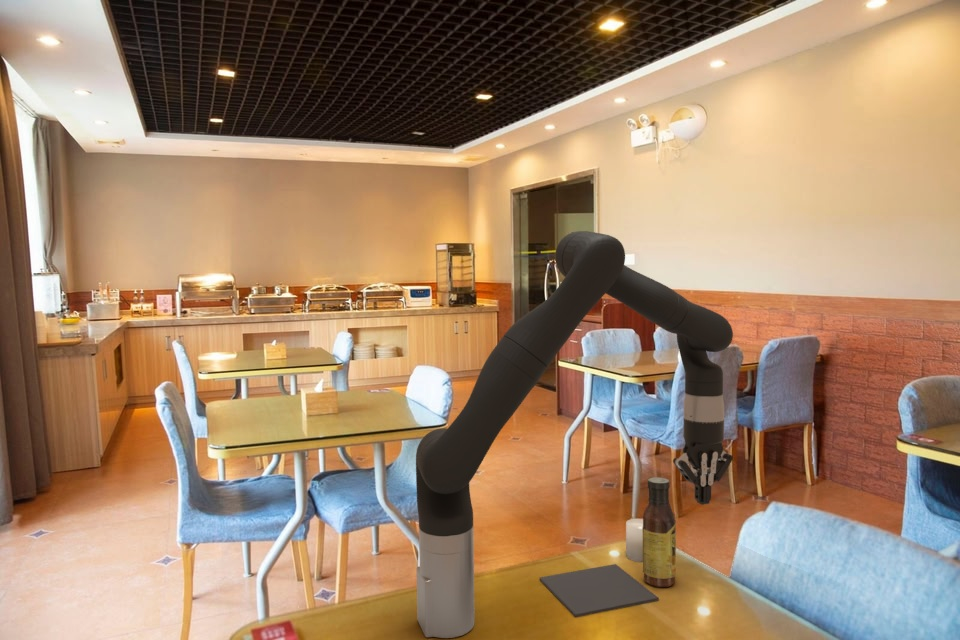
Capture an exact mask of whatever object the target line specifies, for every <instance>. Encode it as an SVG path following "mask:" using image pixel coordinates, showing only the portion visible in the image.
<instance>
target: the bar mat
mask: <svg viewBox="0 0 960 640" xmlns="http://www.w3.org/2000/svg"><path fill="white" fill-rule="evenodd" d="M539 581H540V582H541V583H542V584H543V586H545V587H546V588H547V589H548V590H549V591H550V593H552V595H553V596H554V597H555V598H557V600H558V601H559V602H560V603H561V604H562V605H563V606H564V608H565V609H567V610H568V612H570V614H571V615H572V616H574V618H578V617H579V618H580V617H583V616H584V617H585V616H588V615H593V614H594V615H595V614H599V613H603V612H608V611H615V610H618V609H624V608H627V607H632V606H633V607H634V606H638V605H642V604H643V605H644V604H647V603H648V604H649V603H653V602H657V601H659V600H660V599H659V596H657V595H656V594H655V593H653V592H652V591H651V590H649V589H648V588H647V587H646V586H644V585H643V584H642V583H641V582H640V581H638V580H637V579H636V578H634V577H633V576H632V575H630V574H629V573H628V572H627V571H625V570H624V569H623V568H621V567H620V566H619V565H618V564H617V563H613V564H608V565H603V566H597V567H592V568H585V569H581V570H580V569H578V570H575V571H574V570H573V571H569V572H562V573H558V574H557V573H556V574H552V575H551V574H550V575H545V576H540V577H539Z"/></svg>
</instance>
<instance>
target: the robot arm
mask: <svg viewBox="0 0 960 640" xmlns="http://www.w3.org/2000/svg"><path fill="white" fill-rule="evenodd" d="M554 255H555V256H554V258H555V259H554V260H555V264H556V266H557V268H558V269H557V270H558V271H559V272H560V274H561V275H562V276H563V277H564V279H563V280H562V281H561V283H560V284H559V286H557V288H556V289H555V291H554V292H553V293H551V295H549V297H548V298H546V300H544V301H543V302H541V303H540V304H539V305H538V306H536V307H535V308H534V309H532V310H531V311H529V312H527V313H526V314H525V315H523V316H522V317H521V318H519V319H518V320H516V322H514V323H513V324H512V325H511V326H510V327H509V328H508V329H507V331H506V332H505V333H504V334H503V336H502V337H501V338H500V340H499V341H498V343H496V345H495V347H494V348H493V349H492V351H491V353H489V356H488V357H487V358H486V360H485V361H484V364H483V366H482V368H481V370H480V372H479V375H478V377H477V379H476V381H475V384H474V387H473V389H472V390H471V394H470V396H469V398H468V399H467V402H466V404H465V405H464V407H463V408H462V409H461V411H460V412H459V414H458V415H457V416H456V417H455V419H454V420H453V421H452V422H451V424H450V425H449V426H448V427H447V428H442V427H441V428H436V429H433V430H431V431H429V432H427V434H425V435H424V436H423V438H421V440H420V442H419V444H418V445H417V448H416V454H415V480H416V481H415V483H416V506H417V515H418V516H417V517H418V538H419V539H418V541H419V542H418V545H419V549H418V550H419V551H418V552H419V566H417V567H416V611H417V616H416V618H417V622H418V624H419V627H420V628H421V631H422V632H423V634H424V637H425V638H432V637H435V638H440V639H449V638H450V639H452V638H458V637H460V636H464V635H466V634H468V633H469V632H471V630H472V629H473V628H474V626H475V615H476V614H475V613H476V612H475V611H476V610H475V563H474V562H475V561H474V560H475V558H474V557H475V554H474V553H475V551H474V509H473V504H472V498H471V492H470V491H471V490H470V482H471V481H472V480H473V478H474V476H475V474H476V473H477V471H478V469H479V468H480V466H481V464H482V462H483V461H484V459H485V457H487V456H486V455H487V454H488V452H489V450H490V448H492V445H493V443H494V442H495V440H496V438H498V435H499V433H500V432H501V430H503V428H504V427H505V425H506V424H507V423H508V421H509V420H510V419H511V418H512V416H513V415H514V414H515V412H516V411H517V410H518V408H519V407H520V406H521V404H522V403H523V402H524V400H525V399H526V397H527V396H528V395H529V393H530V392H531V391H532V390H533V389H534V387H535V386H536V385H537V384H538V382H539V380H540V379H541V378H542V376H543V375H544V373H545V372H546V371H547V369H548V368H549V367H550V365H551V364H552V362H553V360H554V359H555V357H556V356H557V355H558V353H559V352H560V350H561V349H562V348H563V346H565V344H566V343H567V341H568V340H569V338H570V337H571V335H572V334H573V333H574V332H575V330H576V329H577V328H578V326H579V324H581V322H582V321H583V320H584V319H585V317H586V316H587V315H588V313H589V312H590V311H591V310H592V309H593V308H594V307H595V305H597V303H598V302H599V301H600V300H601V299H602V298H603V297H604V296H605V295H608V296H609V297H611V298H613V299H615V300H616V301H618V302H620V303H622V304H623V305H624V306H626V307H628V308H629V309H631V310H633V312H636V313H637V314H639V315H641V316H642V317H643V318H645V319H647V320H648V321H650V322H652V323H653V324H655V325H656V326H658V327H660V328H661V329H663V330H664V331H666V332H668V333H671V334H675V335H676V343H677V346H678V352H679V355H680V358H681V359H680V360H681V362H682V366H683V369H684V375H685V376H684V400H683V424H682V425H683V432H682V433H683V434H682V435H683V439H684V447H683V450H682V454H681V455H680V456H679V457H674V458H673V460H672V463H673V465H674V466H675V467H676V469H678V471H679V473H680V474H681V475H682V476H683V478H684V479H685V481H687V482H689V483H691V484H693V485H694V500H695V501H696V502H697V503H698V504H700V505H701V506H702V505H703V506H704V505H709V504H710V501H711V500H712V486H713V484H714V483H715V482H720V481H721V479H722V478H723V476H724V474H725V473H726V471H727V470H728V467H729V466H730V465H731V463H732V461H733V459H734V456H733V454H730V453H727V452H726V451H725V450H724V445H723V442H724V439H725V402H724V373H723V372H724V371H723V368H722V367H721V366H720V365H719V364H717V363H715V362H713V361H711V360H710V358H709V356H708V352H709V353H719V352H722V351H724V350H726V349H728V347H729V346H730V345H731V344H732V342H733V337H734V332H733V331H734V330H733V328H732V325H731V323H730V322H729V321H728V320H727V318H725V317H724V316H723V315H721V314H720V313H718V312H716V311H713V310H711V309H709V308H706V307H704V306H702V305H699V304H696V303H693V302H692V301H690V300H689V299H687V298H686V297H684V296H683V295H681V294H680V293H678V292H677V291H675V290H673V289H672V288H670V287H669V286H667V285H665V284H664V283H661V282H659V281H658V280H655V279H653V278H650V277H649V276H647V275H644V274H643V273H641V272H638V271H635V270H634V269H632V268H630V267H628V266H627V265H625V261H626V251H625V248H624V245H623V243H622V242H621V241H620V240H619V239H618V238H616V237H614V236H613V235H609V234H604V233H600V232H595V231H588V230H579V231H573V232H571V233H568V234H566V235H565V236H564V237H563V238H562V239H560V241H559V243H557V247H556V248H555V253H554Z"/></svg>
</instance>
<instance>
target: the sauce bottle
mask: <svg viewBox="0 0 960 640" xmlns="http://www.w3.org/2000/svg"><path fill="white" fill-rule="evenodd" d="M647 488H648V504H647V505H646V508H645V509H644V510H643V513H642V519H643V528H642V530H643V562H642V572H643V579H644V582H645V583H647V584H648V585H650V586H652V587H657V588H658V587H659V588H668V587H670V586H672V585H674V584H675V582H676V575H677V538H676V536H677V532H676V531H677V530H676V529H677V528H676V526H677V525H676V523H677V522H676V518H675V515H674V513H673V509H672V507H671V504H670V498H669V497H670V492H669V489H670V480H669V479H668V478H665V477H658V476H657V477H650V478H648V479H647Z"/></svg>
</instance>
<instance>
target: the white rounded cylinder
mask: <svg viewBox="0 0 960 640" xmlns="http://www.w3.org/2000/svg"><path fill="white" fill-rule="evenodd" d="M642 528H643V518H631V519H628V520H626V522H625V556H626V558H627V559H628V560H630V561H634V562H637V563H643V530H642Z"/></svg>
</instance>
